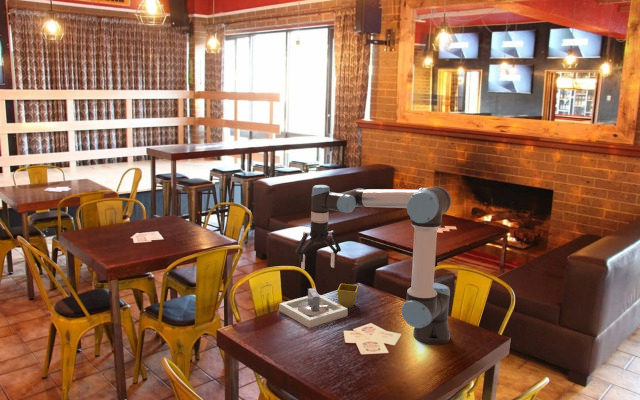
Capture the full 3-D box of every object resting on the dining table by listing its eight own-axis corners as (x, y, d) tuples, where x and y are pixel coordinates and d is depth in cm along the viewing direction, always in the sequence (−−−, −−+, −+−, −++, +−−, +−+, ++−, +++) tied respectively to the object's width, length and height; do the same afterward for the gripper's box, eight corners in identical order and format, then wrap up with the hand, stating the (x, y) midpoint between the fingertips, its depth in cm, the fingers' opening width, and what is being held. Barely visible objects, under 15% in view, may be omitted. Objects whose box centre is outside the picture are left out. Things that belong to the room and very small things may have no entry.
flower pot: (354, 310, 263) (356, 291, 261) (336, 308, 264) (337, 289, 262) (357, 303, 271) (358, 285, 269) (339, 301, 273) (340, 283, 271)
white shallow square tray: (347, 315, 256) (347, 308, 255) (309, 327, 242) (309, 319, 241) (316, 300, 272) (316, 293, 272) (279, 310, 258) (279, 302, 258)
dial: (324, 303, 265) (325, 286, 263) (332, 315, 252) (333, 297, 250) (295, 305, 262) (295, 287, 260) (301, 317, 248) (301, 299, 247)
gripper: (343, 217, 252) (341, 263, 257) (289, 219, 245) (288, 266, 249) (349, 221, 245) (347, 268, 250) (293, 224, 238) (292, 272, 242)
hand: (317, 267), depth 250 cm, fingers open, 13 cm apart
